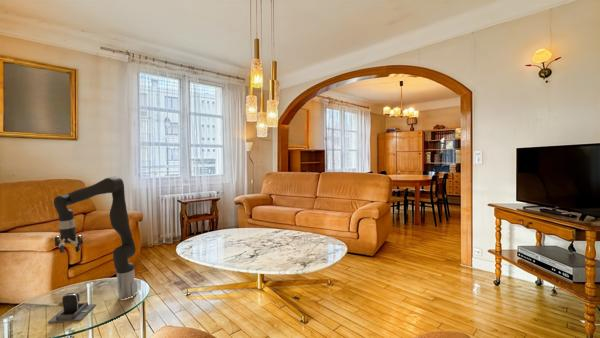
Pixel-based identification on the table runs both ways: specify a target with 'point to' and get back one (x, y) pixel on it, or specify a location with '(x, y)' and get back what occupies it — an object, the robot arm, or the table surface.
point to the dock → (77, 316)
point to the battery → (70, 303)
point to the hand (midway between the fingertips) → (70, 252)
